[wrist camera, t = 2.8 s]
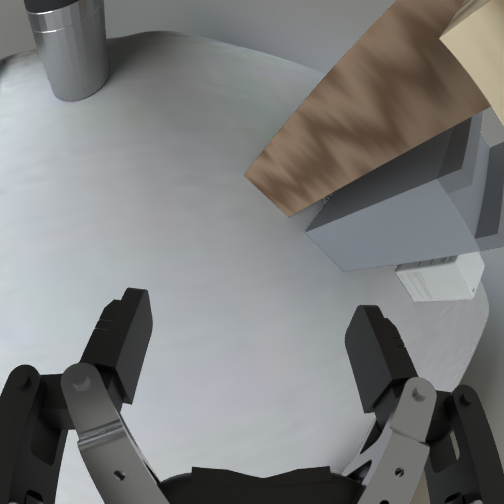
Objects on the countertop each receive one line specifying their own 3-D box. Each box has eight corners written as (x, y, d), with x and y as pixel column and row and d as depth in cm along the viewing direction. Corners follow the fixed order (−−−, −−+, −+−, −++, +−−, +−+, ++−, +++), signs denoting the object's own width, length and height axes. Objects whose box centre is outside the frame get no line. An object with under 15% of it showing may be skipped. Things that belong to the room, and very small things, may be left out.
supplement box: (430, 273, 46) (486, 266, 34) (413, 302, 44) (473, 301, 32) (412, 242, 45) (469, 228, 33) (393, 270, 43) (455, 262, 31)
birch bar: (507, 133, 5) (586, 98, 2) (439, 38, 4) (515, -17, 1) (488, 22, 12) (507, 9, 9) (466, -3, 11) (485, -17, 9)
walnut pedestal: (243, 175, 37) (424, -26, 7) (304, 117, 42) (447, -23, 11) (288, 217, 38) (522, 90, 8) (340, 153, 43) (504, 41, 13)
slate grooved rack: (304, 232, 39) (461, 168, 16) (353, 166, 43) (475, 93, 20) (343, 271, 40) (503, 246, 17) (385, 202, 44) (510, 151, 21)
